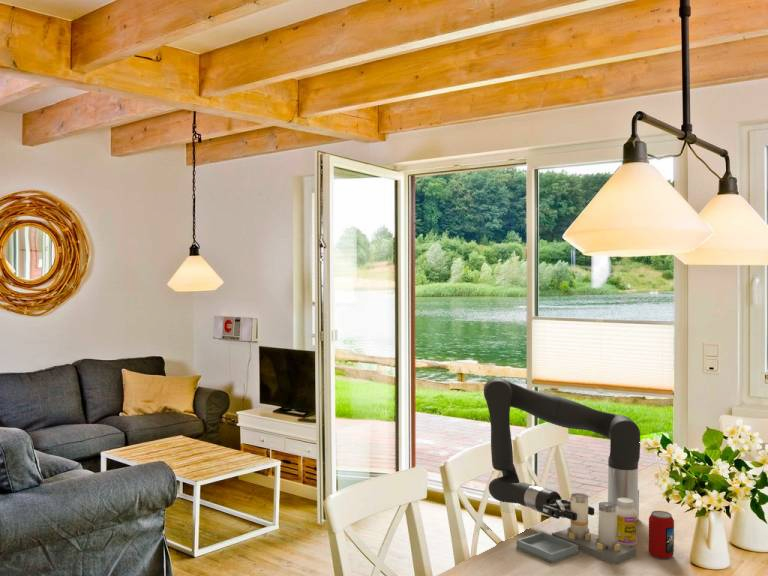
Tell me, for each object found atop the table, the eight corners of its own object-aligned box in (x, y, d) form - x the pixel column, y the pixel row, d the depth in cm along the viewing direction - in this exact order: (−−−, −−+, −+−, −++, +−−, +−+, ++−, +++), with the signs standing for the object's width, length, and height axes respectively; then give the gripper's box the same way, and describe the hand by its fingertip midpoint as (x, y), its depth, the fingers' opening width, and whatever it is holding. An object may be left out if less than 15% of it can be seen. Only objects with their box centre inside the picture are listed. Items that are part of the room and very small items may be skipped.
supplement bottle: (623, 548, 213) (624, 504, 212) (608, 540, 219) (608, 498, 218) (641, 545, 215) (642, 501, 215) (625, 537, 221) (626, 495, 221)
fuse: (605, 541, 212) (605, 500, 212) (620, 547, 208) (620, 505, 208) (594, 545, 209) (595, 504, 209) (609, 551, 205) (609, 508, 205)
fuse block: (573, 533, 225) (573, 521, 225) (635, 555, 207) (636, 543, 207) (552, 540, 219) (552, 528, 219) (614, 564, 201) (614, 551, 201)
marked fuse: (577, 531, 220) (578, 492, 220) (591, 536, 216) (592, 496, 216) (566, 535, 217) (567, 495, 217) (580, 540, 213) (580, 499, 213)
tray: (542, 540, 219) (542, 532, 219) (578, 554, 208) (578, 545, 208) (516, 548, 212) (516, 540, 212) (551, 563, 201) (551, 554, 201)
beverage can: (675, 561, 203) (676, 518, 203) (650, 559, 205) (650, 516, 204) (671, 552, 210) (671, 510, 210) (646, 550, 211) (647, 509, 211)
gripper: (526, 492, 224) (569, 506, 211) (557, 484, 232) (600, 497, 219) (526, 516, 224) (569, 532, 211) (557, 507, 233) (600, 522, 219)
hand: (585, 514), depth 215 cm, fingers open, 7 cm apart
